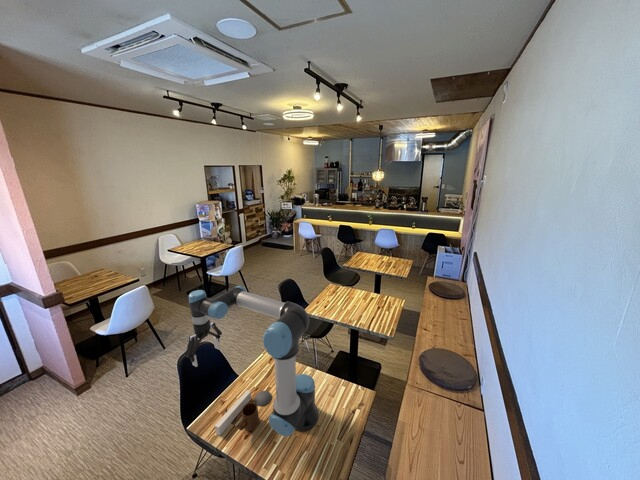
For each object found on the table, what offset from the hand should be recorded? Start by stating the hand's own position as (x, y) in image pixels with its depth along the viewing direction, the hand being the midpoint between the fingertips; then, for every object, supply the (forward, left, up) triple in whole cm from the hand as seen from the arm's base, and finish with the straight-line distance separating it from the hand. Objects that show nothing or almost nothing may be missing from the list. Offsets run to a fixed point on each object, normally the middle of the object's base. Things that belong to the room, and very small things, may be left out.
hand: (206, 356), depth 132 cm
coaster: (-24, -12, -28) cm, 39 cm away
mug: (-28, +4, -28) cm, 40 cm away
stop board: (-17, +2, -28) cm, 33 cm away
